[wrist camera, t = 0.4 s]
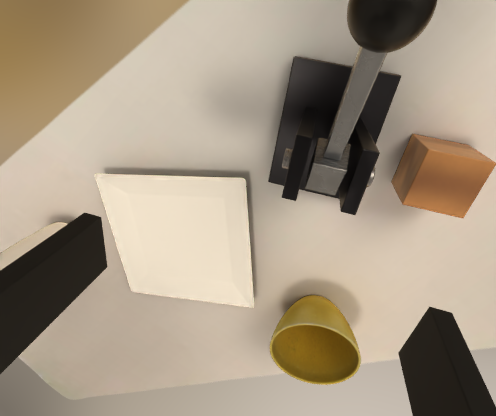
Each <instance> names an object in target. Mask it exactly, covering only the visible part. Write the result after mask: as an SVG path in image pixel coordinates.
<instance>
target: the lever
mask: <svg viewBox="0 0 496 416" xmlns="http://www.w3.org/2000/svg"><path fill="white" fill-rule="evenodd" d="M436 4H437V0H349V4H348V10H347V22H348V27H349V30H350V33H351V35H352V37H353V38H354V40H355V41H356V42H357V43H358V45H360V48H359V51H358V54H357V57H356V59H355V62H354V65H353V68H352V71H351V74H350V77H349V79H348V82H347V85H346V88H345V91H344V94H343V97H342V99H341V102H340V105H339V108H338V111H337V114H336V117H335V119H334V122H333V125H332V128H331V131H330V134H329V137H328V139H324V138H318V140H317V143H316V146H315V149H314V153H313V156H312V159H311V162H310V166H309V171H308V175H307V180H306V184H305V189H309V190H313V191H318V192H322V193H326V194H330V195H336V193H337V191H338V189H339V187H340V185H341V183H342V181H343V179H344V177H345V175H346V173H347V170H348V163H349V155H350V148H351V144H347V143H348V141H349V139H350V137H351V134H352V132H353V130H354V128H355V125H356V123H357V121H358V118H359V116H360V114H361V112H362V109H363V107H364V105H365V102H366V100H367V98H368V96H369V93H370V91H371V89H372V87H373V84H374V82H375V80H376V77H377V75H378V73H379V71H380V68H381V66H382V64H383V61H384V59H385V57H386V55H387V53H388V52H392V51H396V50H399V49H401V48H403V47H405V46H406V45H408V44H409V43H411V42H412V41H413V40H415V39H416V38H417V37H418V36H419V35H420V34H421V33H422V32H423V30H424V29H425V27H426V26H427V25H428V23H429V21H430V20H431V18H432V15H433V13H434V10H435V7H436Z"/></svg>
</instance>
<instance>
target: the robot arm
mask: <svg viewBox="0 0 496 416" xmlns="http://www.w3.org/2000/svg"><path fill="white" fill-rule="evenodd" d="M106 268H107V261H106V253H105V245H104V237H103V229H102V221H101V217H99V216H95V215H91V214H88V213H83V214H82V215H80V216H79V217H78V218H76V219H75V220H73V221H72V222H70V223H69V224H67V225H66V226H64V227H63V228H61V229H60V230H59V231H57V232H56V233H54V234H53V235H51V236H50V237H48V238H47V239H45V240H44V241H43V242H41V243H40V244H38V245H37V246H35V247H34V248H32V249H31V250H29V251H28V252H26V253H25V254H24V255H22V256H21V257H19V258H18V259H16V260H15V261H13V262H12V263H10V264H9V265H8V266H6V267H5V268H3V269H2V270H0V374H1V373H2V372H3V371H4V370H5V369H6V368H7V367H8V366H9V365H10V364H11V363H12V362H13V361H14V360H15V359H16V358H17V357H18V356H19V355H20V354H21V353H22V352H23V351H24V350H25V349H26V348H27V347H28V346H29V345H30V344H31V343H32V342H33V341H34V340H35V339H36V338H37V337H38V336H39V335H40V334H41V333H42V332H43V331H44V330H45V329H46V328H47V327H48V326H49V325H50V324H51V323H52V322H53V321H54V320H55V319H56V318H57V317H58V316H59V315H60V314H61V313H62V312H63V311H64V310H65V309H66V308H67V307H68V306H69V305H70V304H71V303H72V302H73V301H74V300H75V299H76V298H77V297H78V296H79V295H80V294H81V293H82V292H83V291H84V290H85V289H86V288H87V287H88V286H89V285H90V284H91V283H92V282H93V281H94V280H95V279H96V278H97V277H98V276H99V275H100V274H101V273H102V272H103V271H104V270H105V269H106ZM399 357H400V361H401V366H402V370H403V375H404V379H405V383H406V387H407V392H408V396H409V401H410V405H411V409H412V413H413V416H496V407H495V404H494V402H493V400H492V398H491V396H490V394H489V391H488V389H487V387H486V385H485V383H484V381H483V379H482V376H481V374H480V372H479V370H478V368H477V366H476V364H475V361H474V359H473V357H472V355H471V353H470V351H469V349H468V346H467V344H466V342H465V340H464V338H463V336H462V334H461V331H460V329H459V327H458V325H457V323H456V321H455V319H454V316H453V314H452V313H450V312H447V311H443V310H439V309H436V308H432V307H429V308H428V310H427V311H426V313H425V314H424V316H423V317H422V319H421V320H420V322H419V323H418V325H417V326H416V328H415V329H414V331H413V332H412V334H411V335H410V337H409V338H408V340H407V341H406V343H405V344H404V346H403V347H402V349H401V350H400V351H399Z"/></svg>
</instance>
